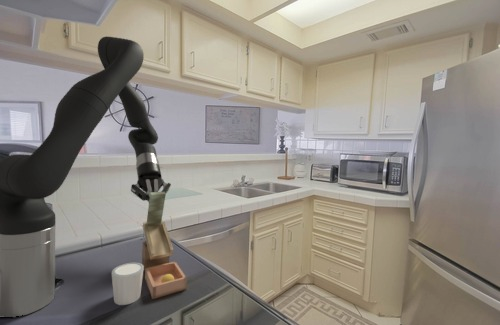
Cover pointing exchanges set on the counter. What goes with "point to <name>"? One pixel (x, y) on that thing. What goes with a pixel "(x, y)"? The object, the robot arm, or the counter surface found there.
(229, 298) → the counter surface
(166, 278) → the ball
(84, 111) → the robot arm
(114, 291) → the white cylinder
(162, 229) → the ramp
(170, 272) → the dish
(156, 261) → the fulcrum
